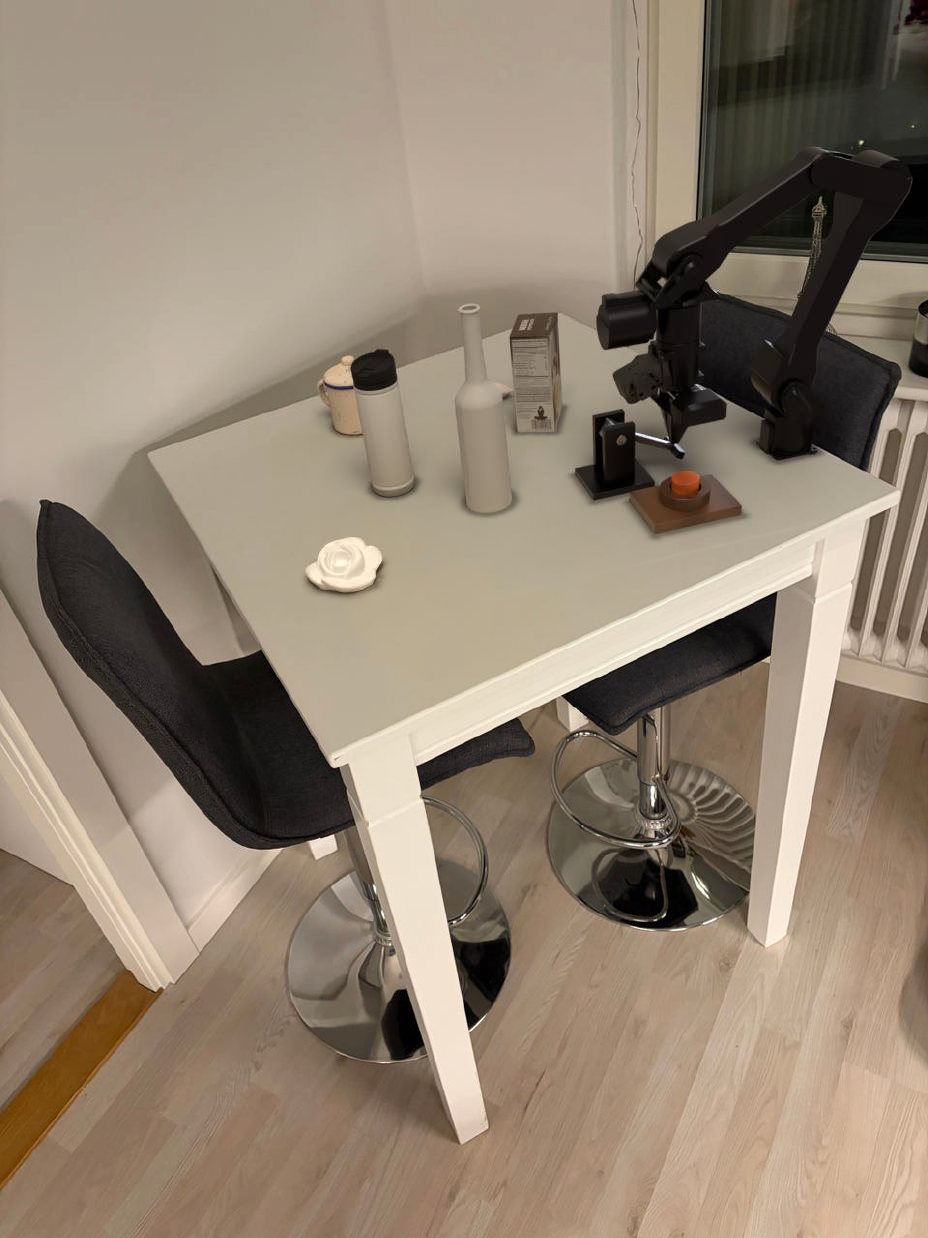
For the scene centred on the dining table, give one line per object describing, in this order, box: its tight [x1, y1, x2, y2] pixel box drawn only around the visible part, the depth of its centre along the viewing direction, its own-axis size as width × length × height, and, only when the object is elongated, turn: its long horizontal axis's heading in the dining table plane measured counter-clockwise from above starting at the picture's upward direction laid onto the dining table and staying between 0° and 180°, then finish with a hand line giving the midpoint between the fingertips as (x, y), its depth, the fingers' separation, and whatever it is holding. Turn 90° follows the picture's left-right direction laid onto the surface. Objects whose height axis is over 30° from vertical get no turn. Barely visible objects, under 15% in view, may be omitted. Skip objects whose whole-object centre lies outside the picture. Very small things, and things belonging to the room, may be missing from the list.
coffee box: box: [508, 311, 563, 433], centre depth 145 cm, size 9×6×16 cm
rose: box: [304, 536, 383, 593], centre depth 120 cm, size 10×4×10 cm
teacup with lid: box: [316, 355, 363, 436], centre depth 153 cm, size 12×9×12 cm
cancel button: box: [671, 470, 700, 495], centre depth 123 cm, size 4×4×2 cm
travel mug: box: [350, 348, 416, 498], centre depth 132 cm, size 6×7×20 cm
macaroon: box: [492, 381, 514, 399], centre depth 157 cm, size 4×5×2 cm
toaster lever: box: [599, 418, 686, 460], centre depth 129 cm, size 12×5×2 cm, turn 105°
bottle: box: [454, 303, 513, 514], centre depth 123 cm, size 7×7×28 cm
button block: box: [629, 473, 743, 535], centre depth 124 cm, size 12×9×4 cm
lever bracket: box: [574, 408, 656, 501], centre depth 129 cm, size 9×8×10 cm
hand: (674, 442), depth 131 cm, fingers closed, pressing on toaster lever
